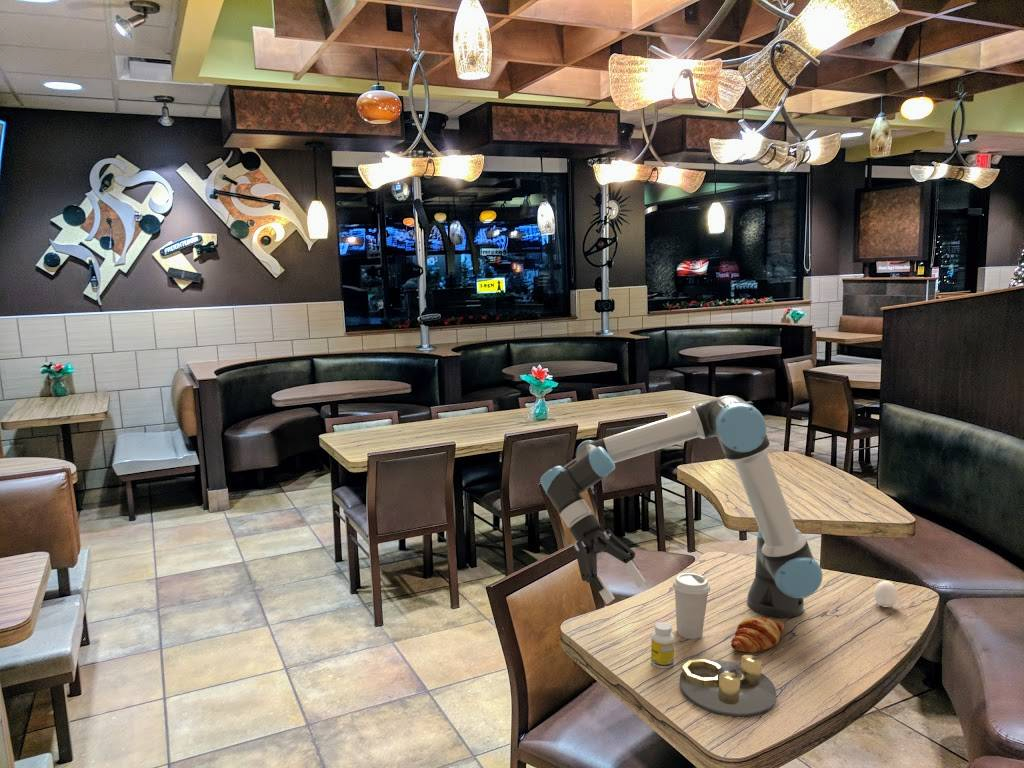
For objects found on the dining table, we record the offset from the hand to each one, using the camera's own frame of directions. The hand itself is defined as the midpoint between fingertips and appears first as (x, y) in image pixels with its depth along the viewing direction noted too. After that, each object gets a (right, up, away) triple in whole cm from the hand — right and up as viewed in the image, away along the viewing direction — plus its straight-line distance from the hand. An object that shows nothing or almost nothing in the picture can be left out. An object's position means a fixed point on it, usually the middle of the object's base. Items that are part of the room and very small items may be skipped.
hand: (627, 593), depth 186 cm
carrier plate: (+20, -18, -16) cm, 31 cm away
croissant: (+35, -15, +5) cm, 38 cm away
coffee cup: (+18, -14, +10) cm, 25 cm away
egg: (+78, -11, +26) cm, 83 cm away
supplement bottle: (+8, -16, -5) cm, 18 cm away
